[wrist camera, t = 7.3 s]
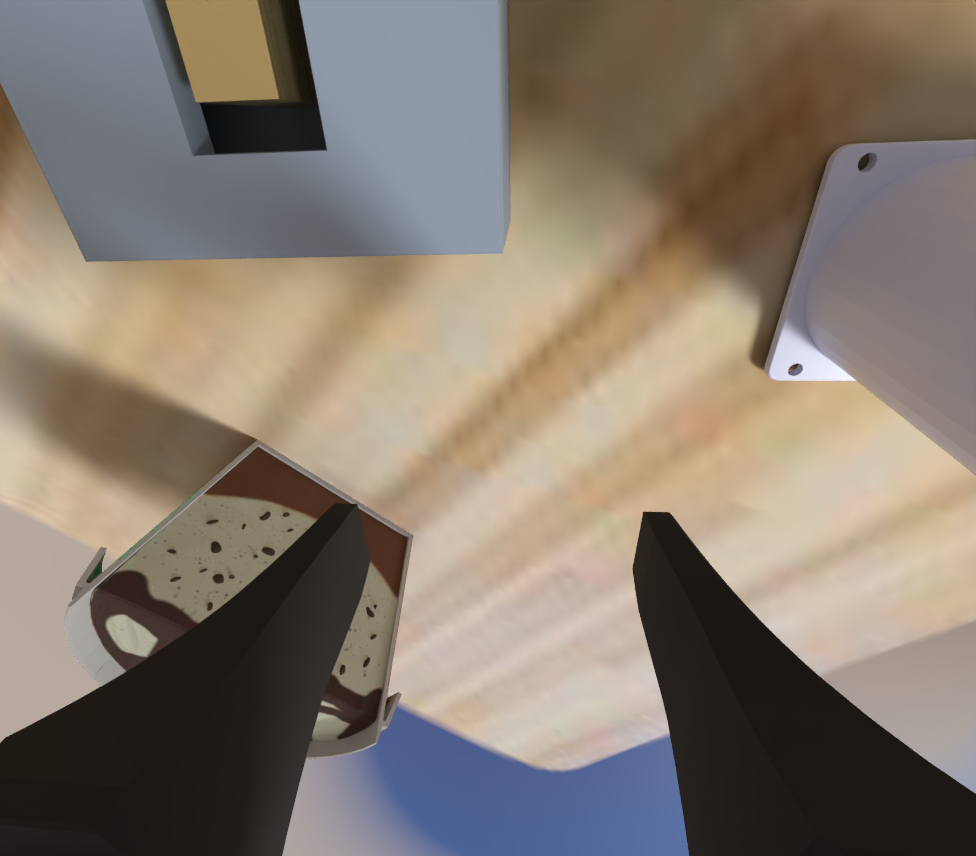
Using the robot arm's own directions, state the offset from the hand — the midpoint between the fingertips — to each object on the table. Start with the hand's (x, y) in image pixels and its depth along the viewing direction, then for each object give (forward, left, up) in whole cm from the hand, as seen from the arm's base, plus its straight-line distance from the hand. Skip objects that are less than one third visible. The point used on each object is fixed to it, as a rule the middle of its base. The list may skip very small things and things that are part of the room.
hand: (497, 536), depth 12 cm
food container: (+11, +9, -10) cm, 17 cm away
